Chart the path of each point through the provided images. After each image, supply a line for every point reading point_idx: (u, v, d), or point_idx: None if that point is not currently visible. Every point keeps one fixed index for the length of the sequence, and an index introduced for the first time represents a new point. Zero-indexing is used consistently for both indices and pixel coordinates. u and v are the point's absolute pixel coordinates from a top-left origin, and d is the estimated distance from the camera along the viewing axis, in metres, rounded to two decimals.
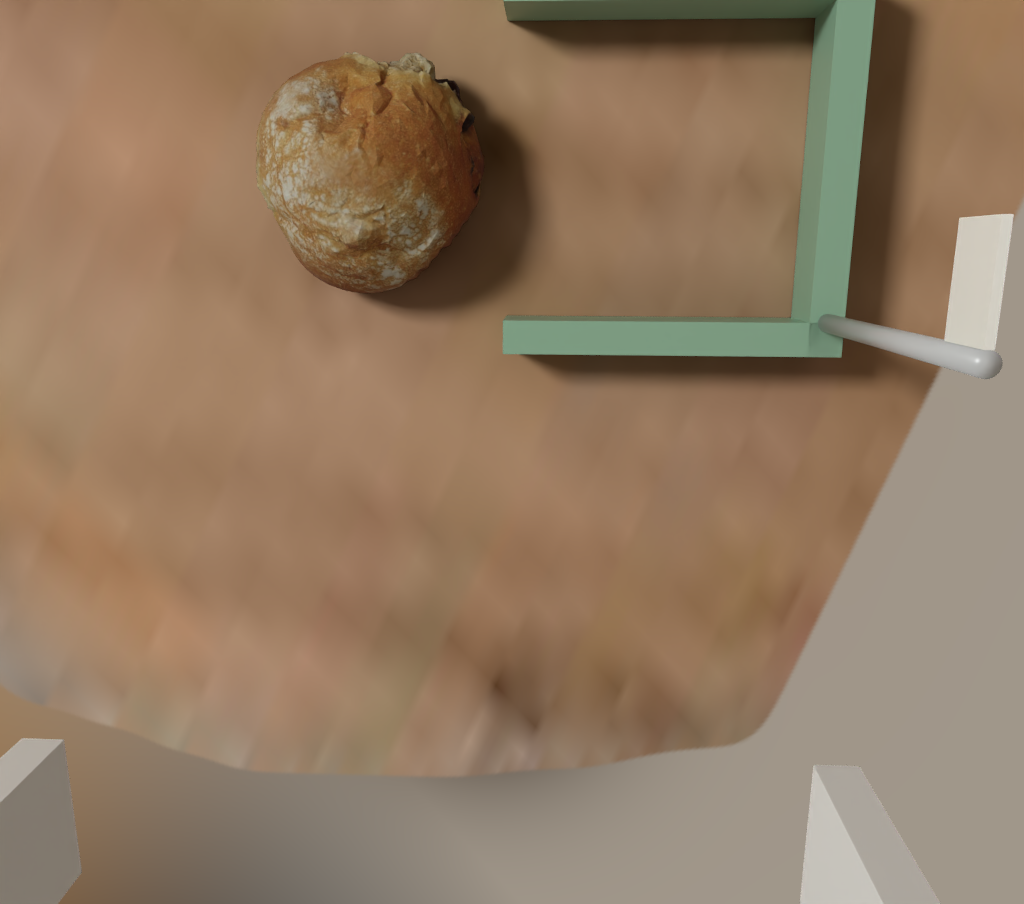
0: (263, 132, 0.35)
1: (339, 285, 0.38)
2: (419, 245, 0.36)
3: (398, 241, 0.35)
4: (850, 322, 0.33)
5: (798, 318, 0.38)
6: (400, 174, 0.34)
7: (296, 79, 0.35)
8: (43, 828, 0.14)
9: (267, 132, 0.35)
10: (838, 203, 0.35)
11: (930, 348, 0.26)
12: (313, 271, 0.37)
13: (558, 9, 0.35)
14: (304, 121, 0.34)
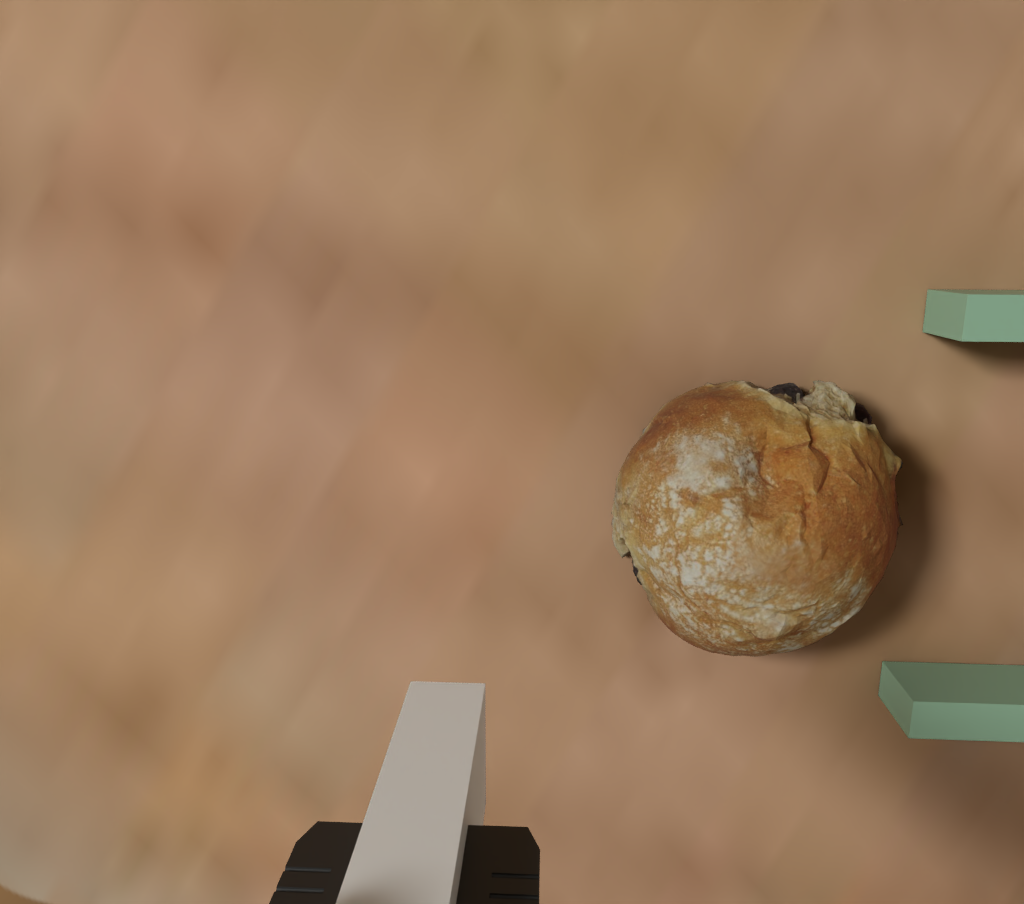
0: (651, 494, 0.28)
1: (712, 652, 0.30)
2: (833, 623, 0.29)
3: (815, 626, 0.28)
4: None
5: None
6: (844, 564, 0.27)
7: (698, 432, 0.27)
8: None
9: (661, 499, 0.27)
10: None
11: None
12: (686, 640, 0.30)
13: None
14: (724, 501, 0.26)
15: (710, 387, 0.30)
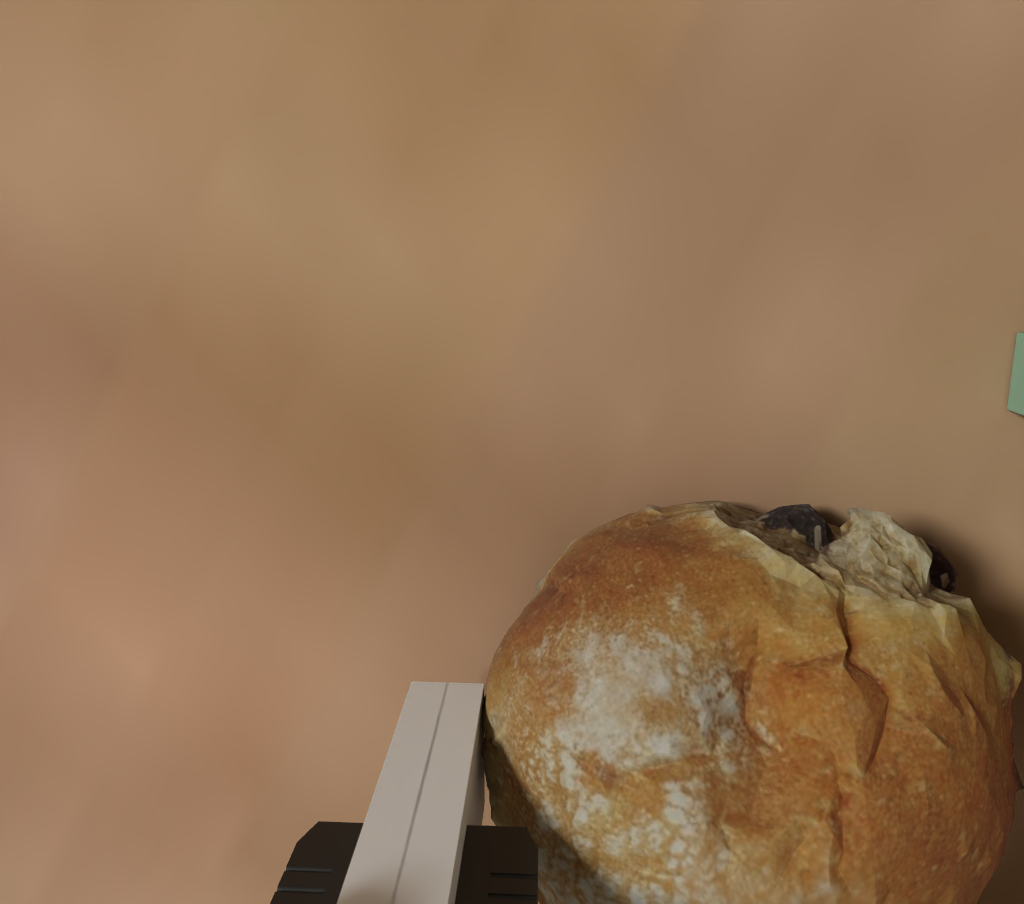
0: (528, 747, 0.14)
1: None
2: None
3: None
4: None
5: None
6: None
7: (620, 628, 0.14)
8: None
9: (545, 762, 0.14)
10: None
11: None
12: None
13: None
14: (668, 788, 0.13)
15: (653, 516, 0.16)
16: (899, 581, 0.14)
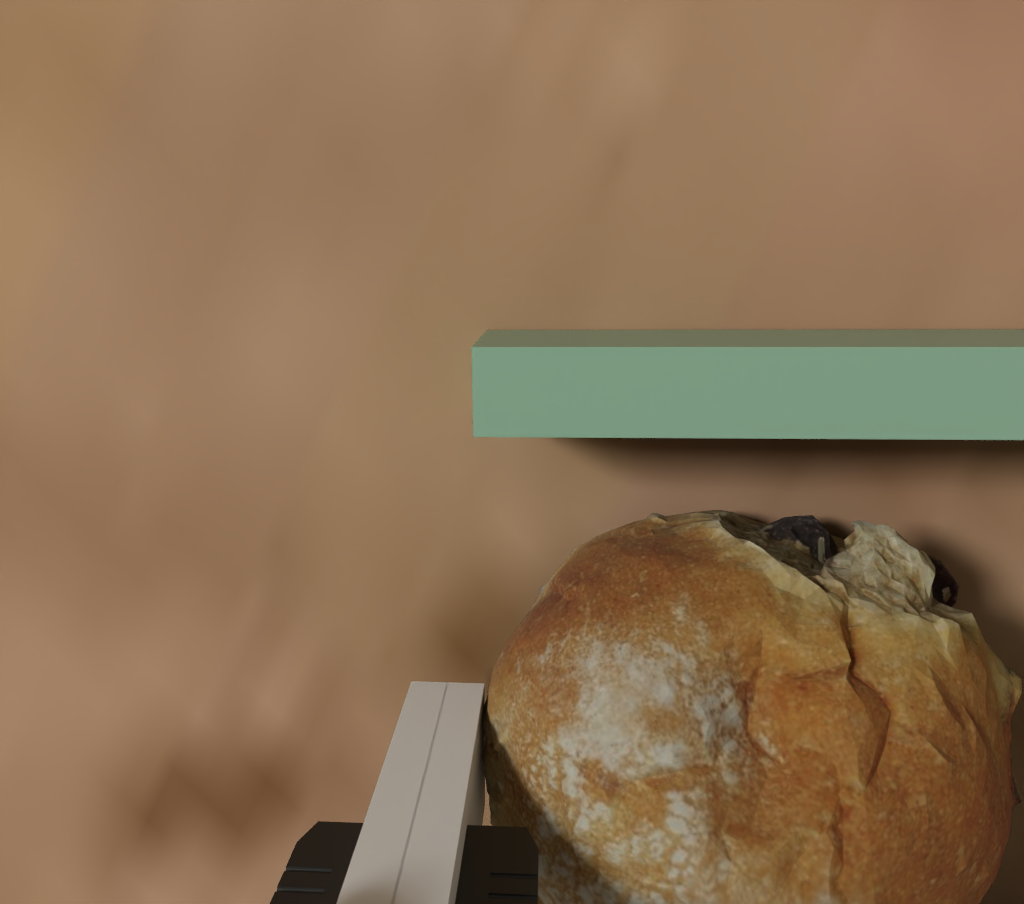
0: (531, 754, 0.14)
1: None
2: None
3: None
4: None
5: None
6: None
7: (624, 636, 0.14)
8: None
9: (548, 769, 0.14)
10: None
11: None
12: None
13: None
14: (670, 797, 0.13)
15: (657, 524, 0.16)
16: (902, 595, 0.14)
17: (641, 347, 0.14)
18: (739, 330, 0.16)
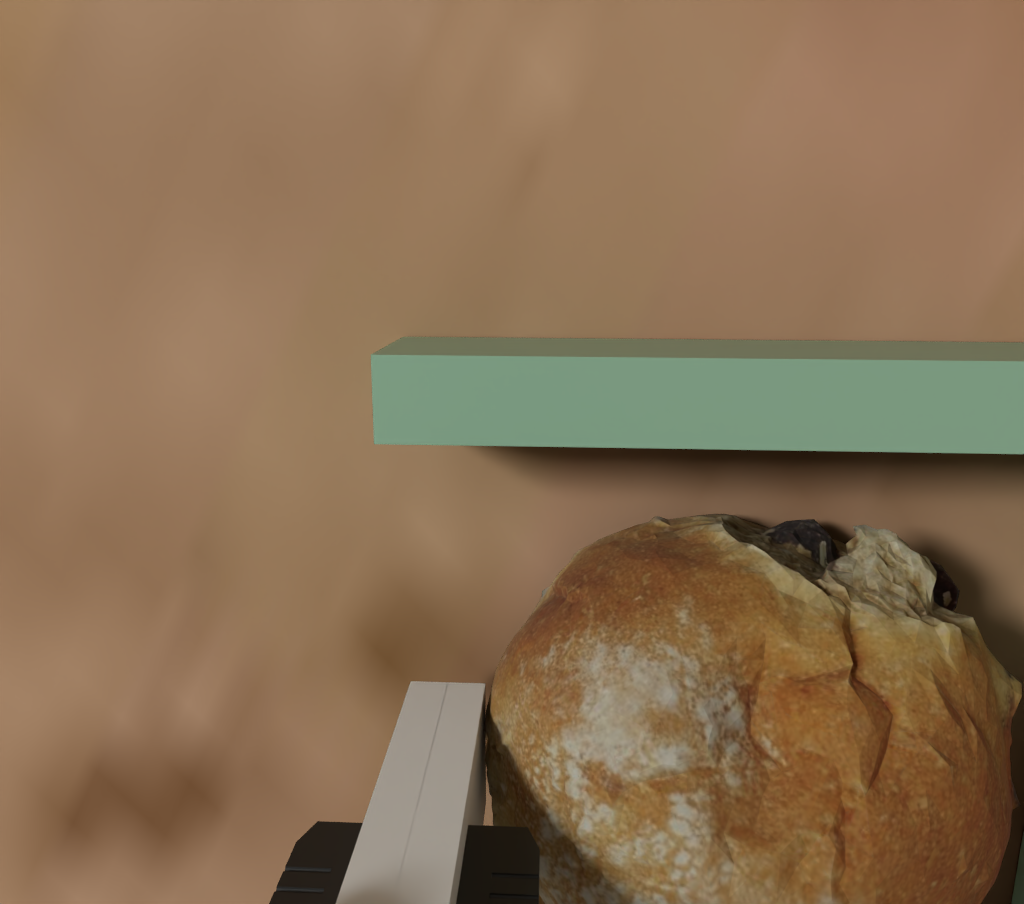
0: (534, 756, 0.14)
1: None
2: None
3: None
4: None
5: None
6: None
7: (628, 639, 0.14)
8: None
9: (551, 772, 0.14)
10: None
11: None
12: None
13: None
14: (673, 799, 0.13)
15: (660, 528, 0.16)
16: (904, 599, 0.14)
17: (539, 356, 0.14)
18: (652, 339, 0.16)
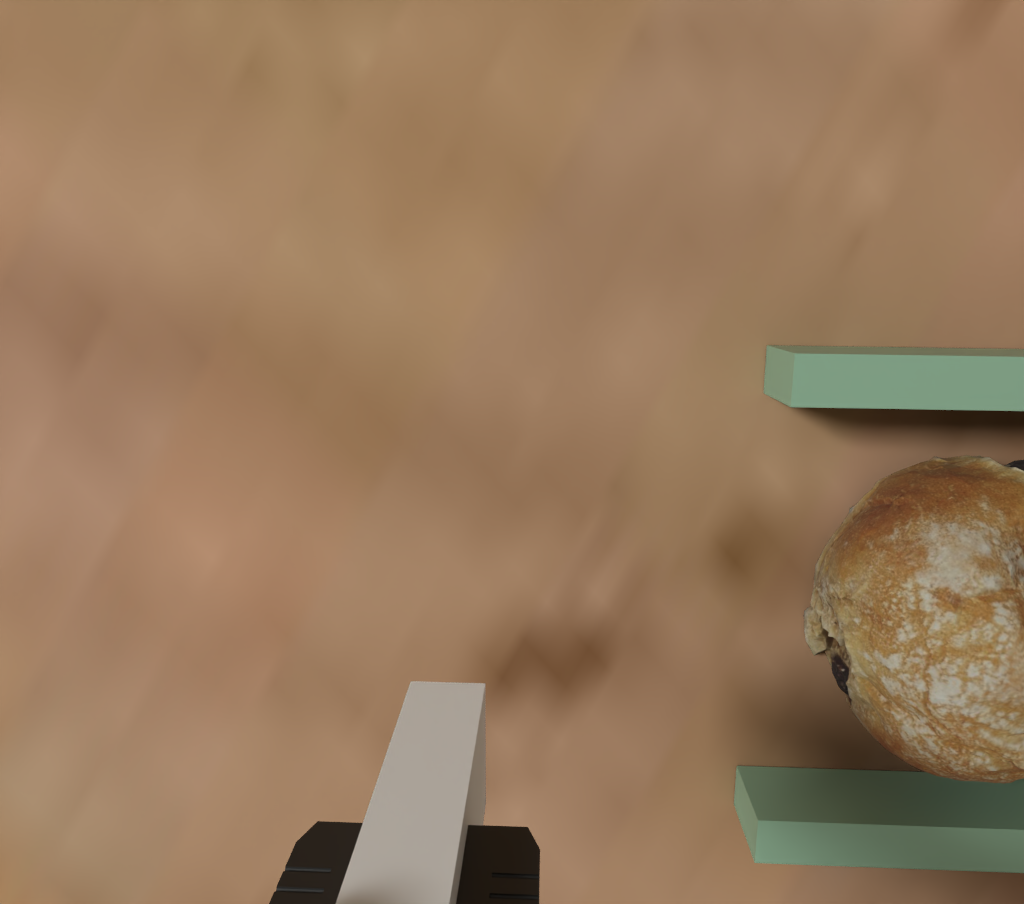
0: (892, 591, 0.23)
1: (936, 775, 0.26)
2: None
3: None
4: None
5: None
6: None
7: (952, 519, 0.23)
8: None
9: (907, 598, 0.23)
10: None
11: None
12: (909, 762, 0.25)
13: None
14: (995, 605, 0.22)
15: (941, 462, 0.25)
16: None
17: (895, 355, 0.23)
18: None
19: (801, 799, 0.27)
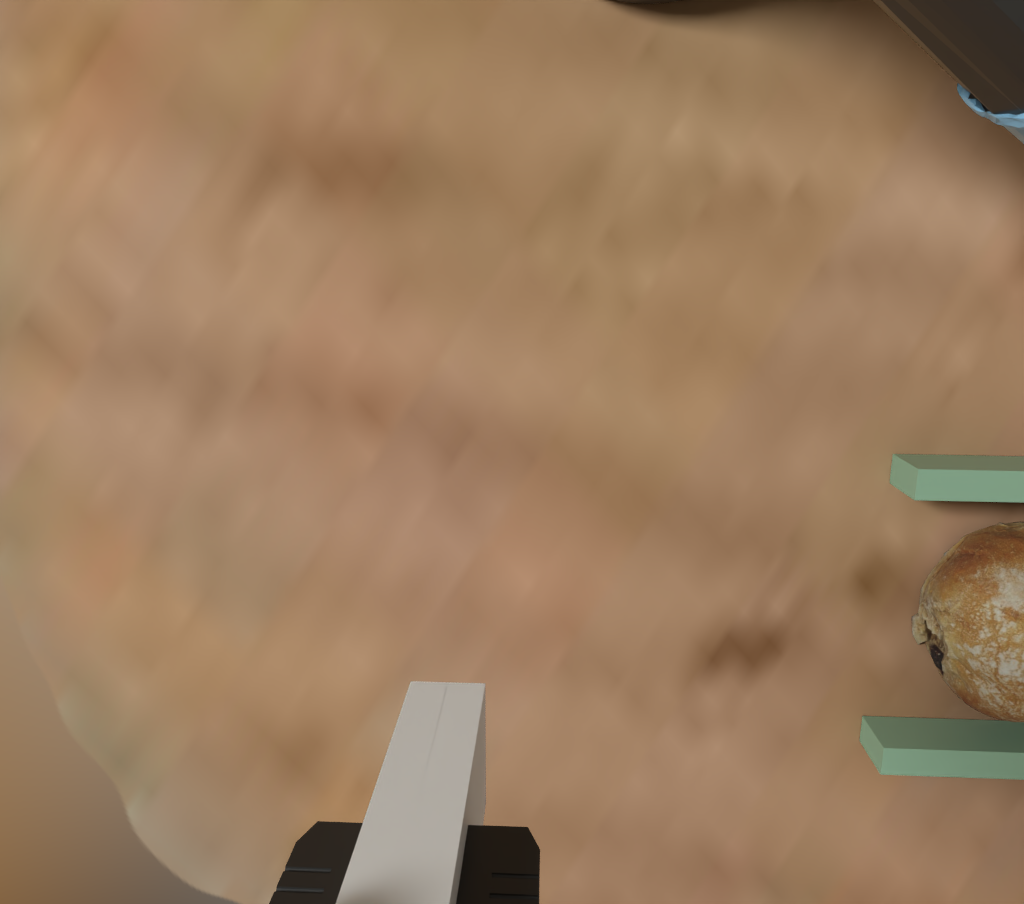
0: (976, 609, 0.39)
1: (997, 718, 0.42)
2: None
3: None
4: None
5: None
6: None
7: (1013, 566, 0.39)
8: None
9: (985, 613, 0.39)
10: None
11: None
12: (982, 710, 0.41)
13: None
14: None
15: (1004, 527, 0.41)
16: None
17: (978, 470, 0.39)
18: (995, 456, 0.41)
19: (908, 736, 0.43)
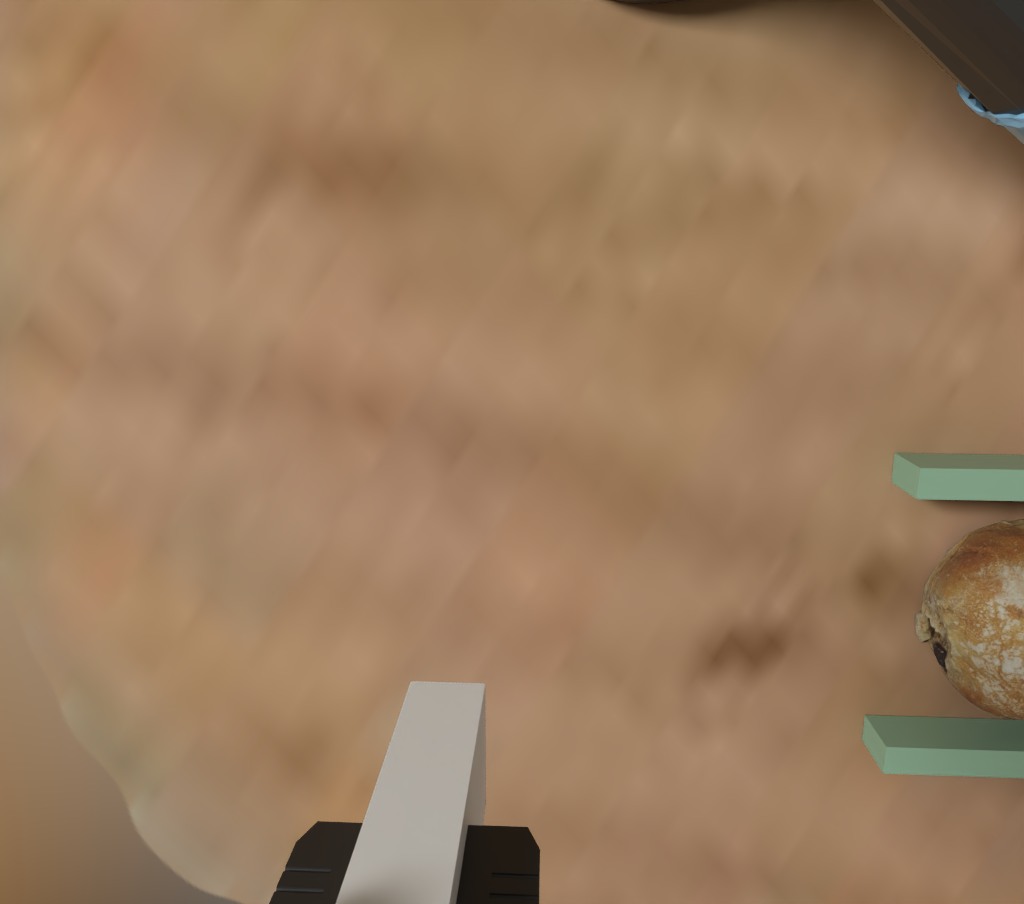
0: (980, 606, 0.39)
1: (1001, 716, 0.42)
2: None
3: None
4: None
5: None
6: None
7: (1016, 564, 0.39)
8: None
9: (989, 611, 0.39)
10: None
11: None
12: (985, 708, 0.41)
13: None
14: None
15: (1007, 524, 0.41)
16: None
17: (980, 469, 0.39)
18: (997, 455, 0.41)
19: (910, 735, 0.43)
